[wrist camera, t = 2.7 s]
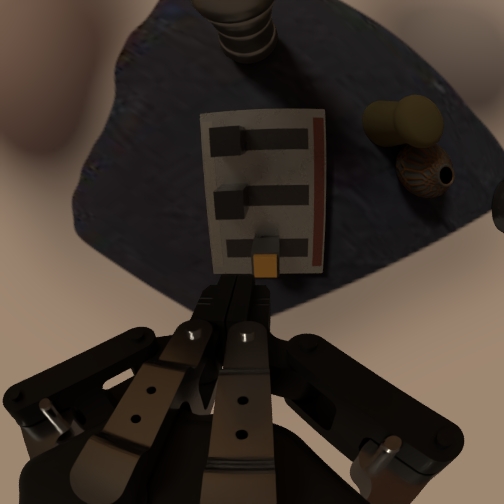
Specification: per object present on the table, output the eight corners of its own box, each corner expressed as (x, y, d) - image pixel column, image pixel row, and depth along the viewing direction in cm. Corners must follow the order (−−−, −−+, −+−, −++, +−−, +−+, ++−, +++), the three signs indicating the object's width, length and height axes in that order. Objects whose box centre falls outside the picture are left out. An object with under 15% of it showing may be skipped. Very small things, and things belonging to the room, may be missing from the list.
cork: (409, 143, 29) (457, 150, 19) (368, 150, 30) (406, 158, 20) (399, 98, 27) (444, 87, 17) (356, 103, 28) (390, 90, 18)
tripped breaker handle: (279, 237, 33) (279, 253, 29) (279, 260, 35) (279, 279, 30) (254, 237, 34) (250, 254, 29) (255, 260, 35) (251, 279, 30)
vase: (406, 201, 32) (439, 221, 24) (378, 159, 31) (408, 167, 23) (440, 171, 30) (478, 183, 22) (414, 128, 28) (450, 129, 20)
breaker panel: (322, 111, 29) (332, 104, 23) (320, 266, 37) (327, 290, 31) (204, 115, 30) (188, 111, 25) (216, 266, 38) (206, 291, 32)
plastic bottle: (212, 51, 27) (142, -26, 9) (246, 14, 25) (213, -85, 6) (254, 77, 28) (225, 4, 10) (289, 39, 26) (300, -58, 7)
